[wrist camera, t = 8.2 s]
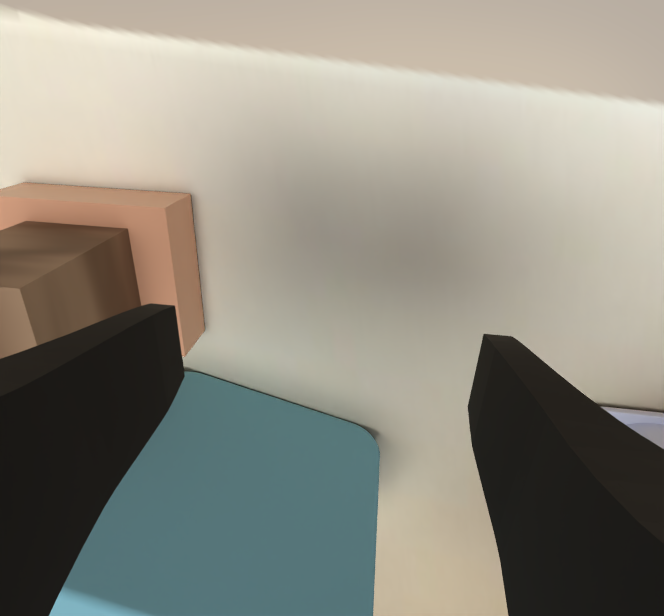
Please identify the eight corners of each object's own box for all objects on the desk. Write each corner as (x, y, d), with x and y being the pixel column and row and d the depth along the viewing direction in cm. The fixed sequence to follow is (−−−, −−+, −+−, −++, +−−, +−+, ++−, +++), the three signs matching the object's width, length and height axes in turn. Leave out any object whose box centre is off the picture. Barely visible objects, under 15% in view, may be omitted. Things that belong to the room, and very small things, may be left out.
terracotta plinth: (190, 193, 20) (165, 207, 18) (205, 330, 23) (184, 356, 21) (23, 182, 21) (-21, 195, 19) (60, 316, 24) (26, 340, 22)
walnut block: (127, 228, 18) (19, 288, 13) (144, 324, 21) (56, 410, 15) (25, 220, 19) (-119, 276, 14) (52, 315, 21) (-65, 395, 16)
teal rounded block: (163, 421, 27) (9, 648, 16) (173, 362, 25) (4, 577, 14) (356, 484, 27) (330, 747, 16) (382, 430, 25) (372, 692, 14)
